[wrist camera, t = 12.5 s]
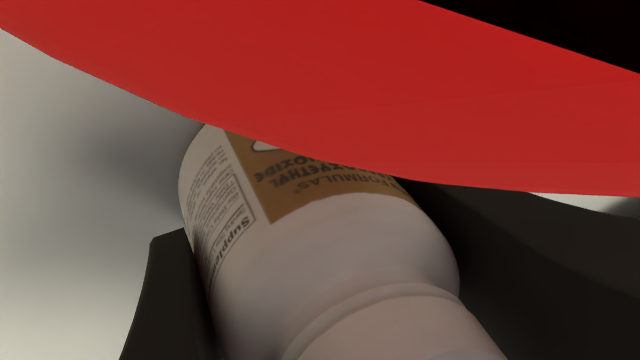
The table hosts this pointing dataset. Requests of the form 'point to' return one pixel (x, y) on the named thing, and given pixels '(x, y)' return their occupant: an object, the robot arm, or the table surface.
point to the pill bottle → (319, 259)
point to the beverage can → (381, 80)
